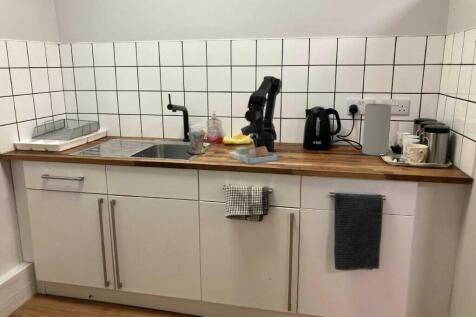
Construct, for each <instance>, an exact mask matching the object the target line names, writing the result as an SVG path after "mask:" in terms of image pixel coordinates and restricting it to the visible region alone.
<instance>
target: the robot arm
mask: <svg viewBox="0 0 476 317" xmlns="http://www.w3.org/2000/svg"><path fill="white" fill-rule="evenodd" d="M282 87H283V81H282V80H281V79H280V78H278V77H275V76H273V75H265V76H264V77H263V79H262V82H261V84H260V85H259V86H258V88H257V90H255V91H253V92H252V93H251V95H250V96H249V99H248V103H247V107H246V108H247V109H248V110H246V111H245V114H244V119H245V120H246V121H247V122H248V123H249V124H248V125H245V126H243V127H241V128H240V131H241V134H242V135H243V136H245V137H248V138H250V139H251V140H252V142H253V144H254V147H255V148H254V149H256V148H257V147H263V146H265V147H266V149H267V151H268V152H270V153H272V152H275V151H276V149H275V141H277V139H278V136H277V132H276V126H275V125H274V121H273V120H274V114H275V107H276V102H277V96H278V95H279V94H280V92H281V88H282Z"/></svg>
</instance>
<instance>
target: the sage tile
mask: <svg viewBox="0 0 476 317" xmlns="http://www.w3.org/2000/svg"><path fill="white" fill-rule="evenodd" d="M249 150H250V148H248V147H246V146H238V147H235V148H234V151H235V153H237V154H240V155H241V154H249Z"/></svg>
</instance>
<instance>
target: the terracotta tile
mask: <svg viewBox="0 0 476 317" xmlns="http://www.w3.org/2000/svg"><path fill="white" fill-rule="evenodd" d="M254 149H255V152H256V154H257V156H258V157H266V156H269V153H268V151H267V149H266V147H265V146H263V147H257V148H254Z"/></svg>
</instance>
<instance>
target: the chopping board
mask: <svg viewBox="0 0 476 317" xmlns="http://www.w3.org/2000/svg"><path fill="white" fill-rule="evenodd" d="M255 149H256V148H252V149H249V154H241V156H244V157H246V158H257V157H258V156H257V154H256V152H255ZM239 155H240V154H237V153H235V150H234V151H229V152H228V156H229V157H231V158H234V159H235V160H238V161H240V160H239Z"/></svg>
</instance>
